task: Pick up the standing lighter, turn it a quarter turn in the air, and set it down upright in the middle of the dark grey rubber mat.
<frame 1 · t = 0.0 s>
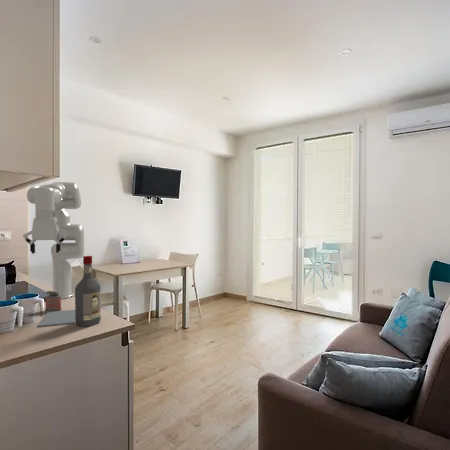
hand: (45, 252, 141), 31 cm above the worktop, tool pointing down, fingers open, 9 cm apart
liquor: (88, 323, 141), on the worktop
lighter: (53, 311, 158), on the worktop
mat: (60, 318, 147), on the worktop
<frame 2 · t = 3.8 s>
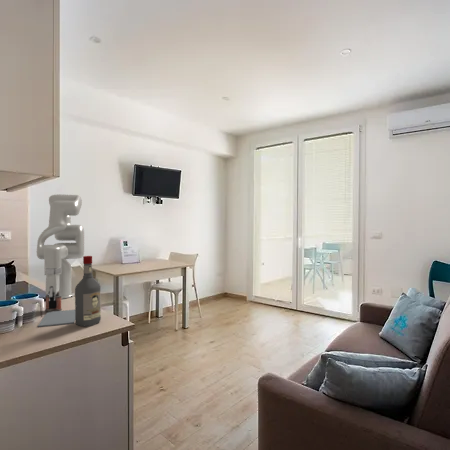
hand: (53, 306, 158), 2 cm above the worktop, tool pointing down, fingers closed on lighter, 4 cm apart
lighter: (53, 310, 158), on the worktop, touching gripper
everything else where it was.
when the fingers open (4 cm above the worktop, at t = 9.7 s): lighter drops 1 cm, resting on mat.
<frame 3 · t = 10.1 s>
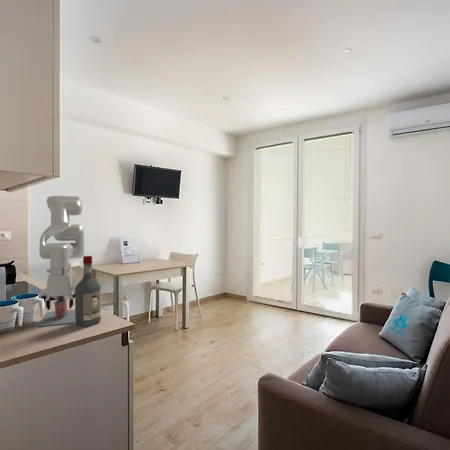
hand: (59, 308, 147), 5 cm above the worktop, tool pointing down, fingers open, 8 cm apart
lighter: (61, 316, 147), resting on mat
everything else where it was.
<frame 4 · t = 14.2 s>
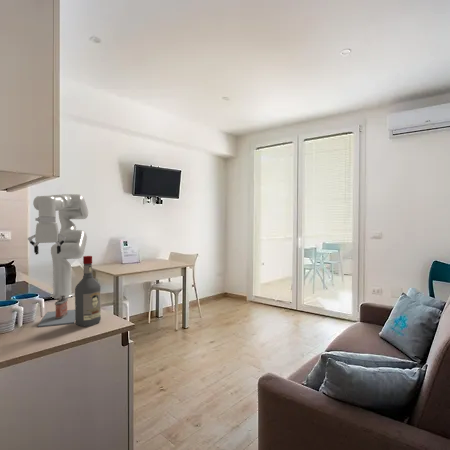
hand: (47, 253, 160), 28 cm above the worktop, tool pointing down, fingers open, 9 cm apart
nothing on the worktop moved.
at the end: lighter inside the target area on the mat (0.6 cm from its centre), point 0.4 cm above the mat's base; lighter tilted 0°; the gripper is holding nothing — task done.
